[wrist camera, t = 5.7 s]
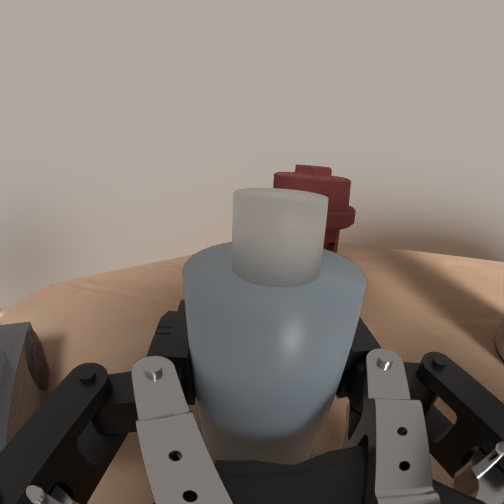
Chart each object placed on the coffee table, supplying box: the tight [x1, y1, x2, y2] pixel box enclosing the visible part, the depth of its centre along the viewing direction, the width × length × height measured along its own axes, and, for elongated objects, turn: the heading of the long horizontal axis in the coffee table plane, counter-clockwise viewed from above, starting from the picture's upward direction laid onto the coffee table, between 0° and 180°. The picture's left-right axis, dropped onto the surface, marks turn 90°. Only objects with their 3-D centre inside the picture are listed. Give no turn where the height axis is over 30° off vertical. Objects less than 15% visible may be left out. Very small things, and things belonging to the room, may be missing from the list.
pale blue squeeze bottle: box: [183, 188, 367, 466], centre depth 9 cm, size 5×5×12 cm
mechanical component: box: [273, 165, 355, 254], centre depth 30 cm, size 12×10×10 cm
